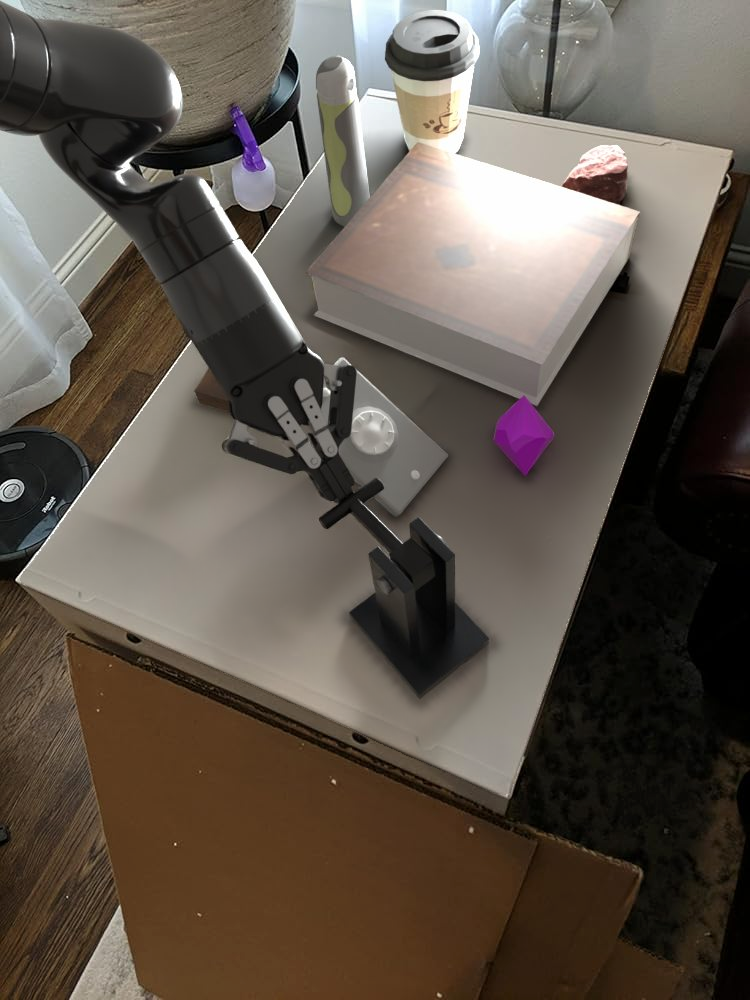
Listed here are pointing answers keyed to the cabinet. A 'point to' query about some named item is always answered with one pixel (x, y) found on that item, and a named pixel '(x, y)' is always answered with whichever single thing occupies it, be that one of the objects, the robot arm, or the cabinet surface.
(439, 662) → the bracket
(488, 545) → the cabinet surface
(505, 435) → the crystal
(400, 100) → the coffee cup
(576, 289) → the book
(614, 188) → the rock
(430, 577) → the lever
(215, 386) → the control block
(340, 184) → the grey and green cylinder
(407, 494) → the light switch
